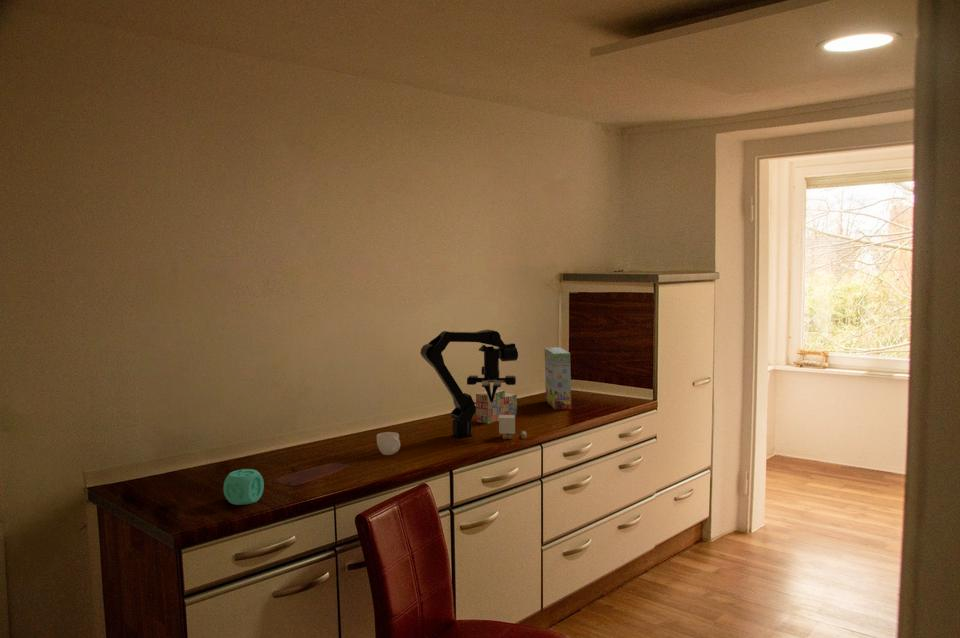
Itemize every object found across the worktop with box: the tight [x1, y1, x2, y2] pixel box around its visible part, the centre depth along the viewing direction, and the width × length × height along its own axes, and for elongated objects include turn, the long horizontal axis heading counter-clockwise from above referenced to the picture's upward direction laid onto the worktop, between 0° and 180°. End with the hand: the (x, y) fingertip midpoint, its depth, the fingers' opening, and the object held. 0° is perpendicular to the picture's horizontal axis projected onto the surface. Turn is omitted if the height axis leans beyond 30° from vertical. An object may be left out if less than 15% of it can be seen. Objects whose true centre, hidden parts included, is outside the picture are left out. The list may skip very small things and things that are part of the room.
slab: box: [498, 415, 516, 435], centre depth 282 cm, size 6×5×6 cm
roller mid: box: [507, 434, 514, 440], centre depth 282 cm, size 6×2×2 cm
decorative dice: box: [222, 468, 265, 506], centre depth 210 cm, size 8×8×8 cm
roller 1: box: [502, 434, 508, 440], centre depth 282 cm, size 6×2×2 cm
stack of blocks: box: [475, 388, 518, 424], centre depth 316 cm, size 21×6×12 cm, turn 143°
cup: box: [376, 431, 401, 456], centre depth 259 cm, size 8×10×7 cm
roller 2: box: [520, 430, 527, 440], centre depth 282 cm, size 6×2×2 cm, turn 177°
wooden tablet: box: [273, 462, 352, 488], centre depth 236 cm, size 27×10×2 cm, turn 147°
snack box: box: [543, 346, 572, 411], centre depth 343 cm, size 22×9×26 cm, turn 6°
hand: (491, 402), depth 289 cm, fingers closed
